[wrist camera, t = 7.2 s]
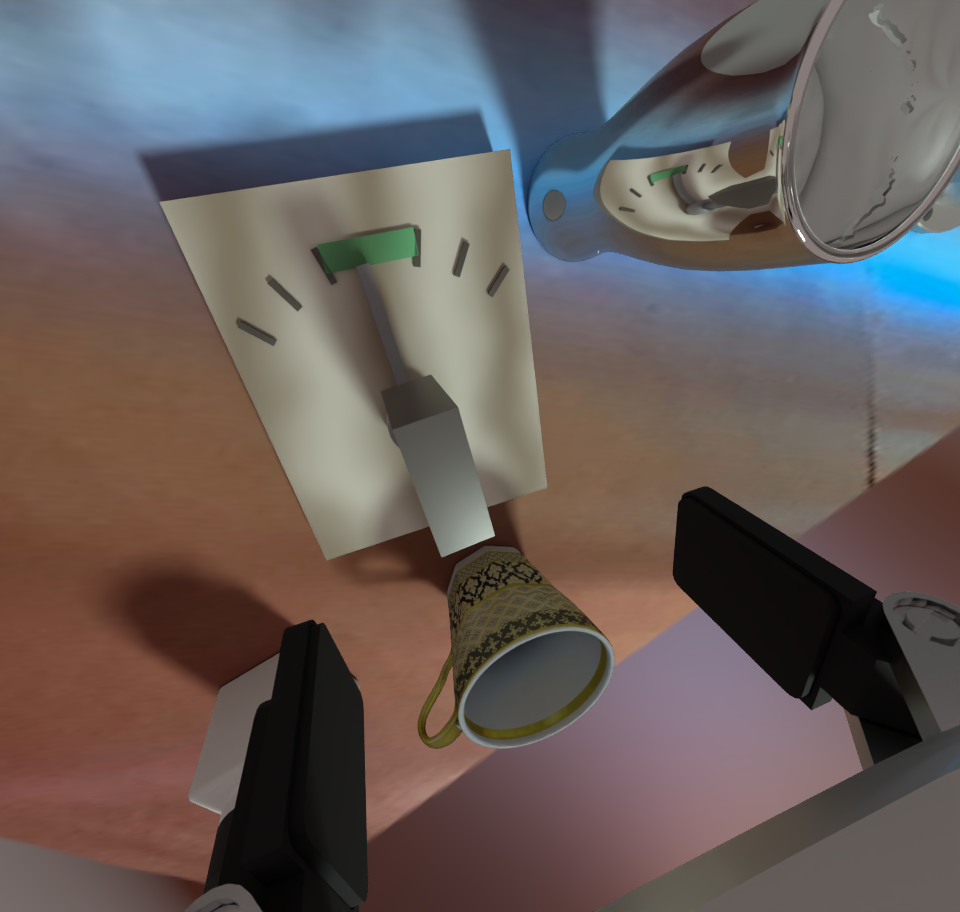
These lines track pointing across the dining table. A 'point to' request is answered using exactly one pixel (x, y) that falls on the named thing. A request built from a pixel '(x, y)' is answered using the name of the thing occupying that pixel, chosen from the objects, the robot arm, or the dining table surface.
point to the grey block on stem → (431, 445)
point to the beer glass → (768, 143)
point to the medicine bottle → (229, 752)
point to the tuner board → (373, 328)
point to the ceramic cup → (515, 655)
